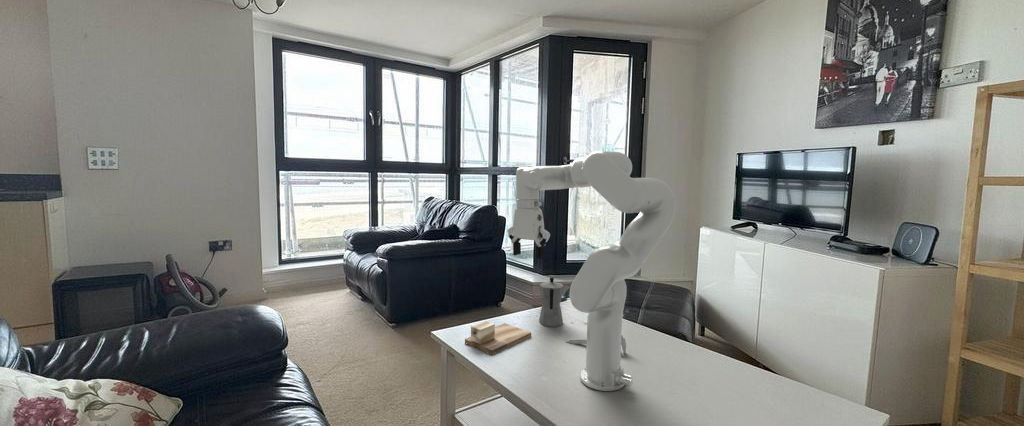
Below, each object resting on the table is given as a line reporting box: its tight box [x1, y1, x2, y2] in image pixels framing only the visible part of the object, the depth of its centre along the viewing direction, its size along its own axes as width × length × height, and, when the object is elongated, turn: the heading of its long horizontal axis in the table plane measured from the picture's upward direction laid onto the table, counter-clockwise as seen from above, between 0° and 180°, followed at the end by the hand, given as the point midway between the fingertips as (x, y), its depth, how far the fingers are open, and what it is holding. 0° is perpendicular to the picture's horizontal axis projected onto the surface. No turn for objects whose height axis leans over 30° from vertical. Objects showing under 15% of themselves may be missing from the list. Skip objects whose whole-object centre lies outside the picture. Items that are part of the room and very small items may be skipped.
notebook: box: [464, 322, 532, 356], centre depth 147 cm, size 13×20×2 cm, turn 138°
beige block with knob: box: [470, 320, 496, 344], centre depth 144 cm, size 4×9×5 cm, turn 138°
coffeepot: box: [538, 276, 565, 327], centre depth 162 cm, size 15×9×18 cm, turn 175°
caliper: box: [565, 334, 627, 355], centre depth 141 cm, size 20×1×6 cm, turn 64°
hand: (528, 256), depth 139 cm, fingers open, 9 cm apart
